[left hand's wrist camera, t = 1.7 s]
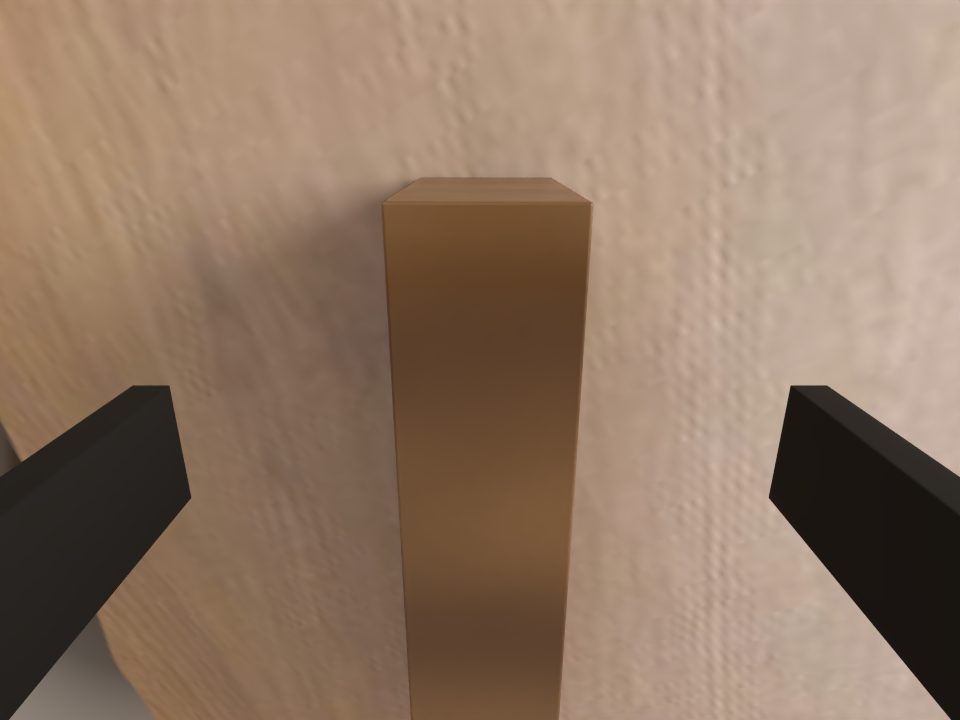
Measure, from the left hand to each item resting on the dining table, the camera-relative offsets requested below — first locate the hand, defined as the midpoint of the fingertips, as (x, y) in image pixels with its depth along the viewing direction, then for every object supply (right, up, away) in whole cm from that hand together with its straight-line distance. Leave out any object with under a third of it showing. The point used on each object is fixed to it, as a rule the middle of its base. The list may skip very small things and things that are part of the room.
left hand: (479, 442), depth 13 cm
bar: (0, -4, +15) cm, 16 cm away
